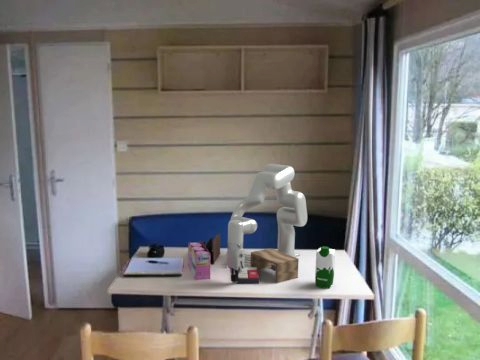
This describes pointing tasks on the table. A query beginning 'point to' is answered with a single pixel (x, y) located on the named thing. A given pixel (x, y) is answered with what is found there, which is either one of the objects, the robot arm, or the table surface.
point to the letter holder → (213, 248)
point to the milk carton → (324, 267)
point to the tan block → (276, 263)
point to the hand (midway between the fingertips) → (234, 281)
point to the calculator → (248, 276)
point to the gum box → (199, 260)
